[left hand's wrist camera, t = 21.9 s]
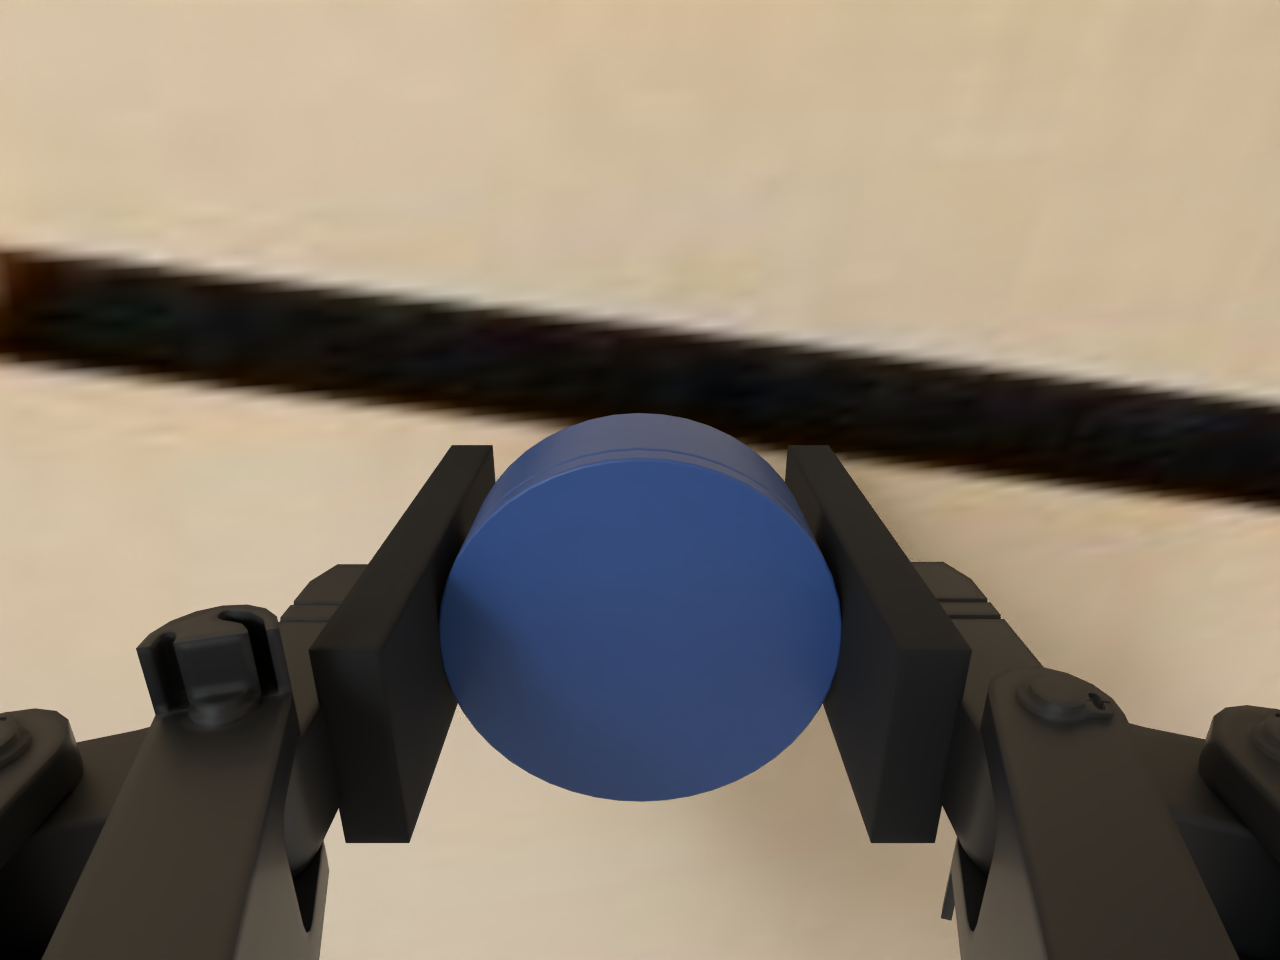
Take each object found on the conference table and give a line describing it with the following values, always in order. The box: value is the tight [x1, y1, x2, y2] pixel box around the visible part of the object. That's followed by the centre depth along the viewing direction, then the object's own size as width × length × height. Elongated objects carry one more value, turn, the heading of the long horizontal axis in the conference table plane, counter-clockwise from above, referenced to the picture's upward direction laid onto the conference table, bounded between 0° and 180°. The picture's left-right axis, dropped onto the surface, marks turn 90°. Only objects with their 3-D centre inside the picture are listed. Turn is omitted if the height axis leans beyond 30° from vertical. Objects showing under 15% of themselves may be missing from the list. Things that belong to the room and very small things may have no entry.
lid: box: [438, 413, 842, 802], centre depth 11 cm, size 6×6×2 cm
